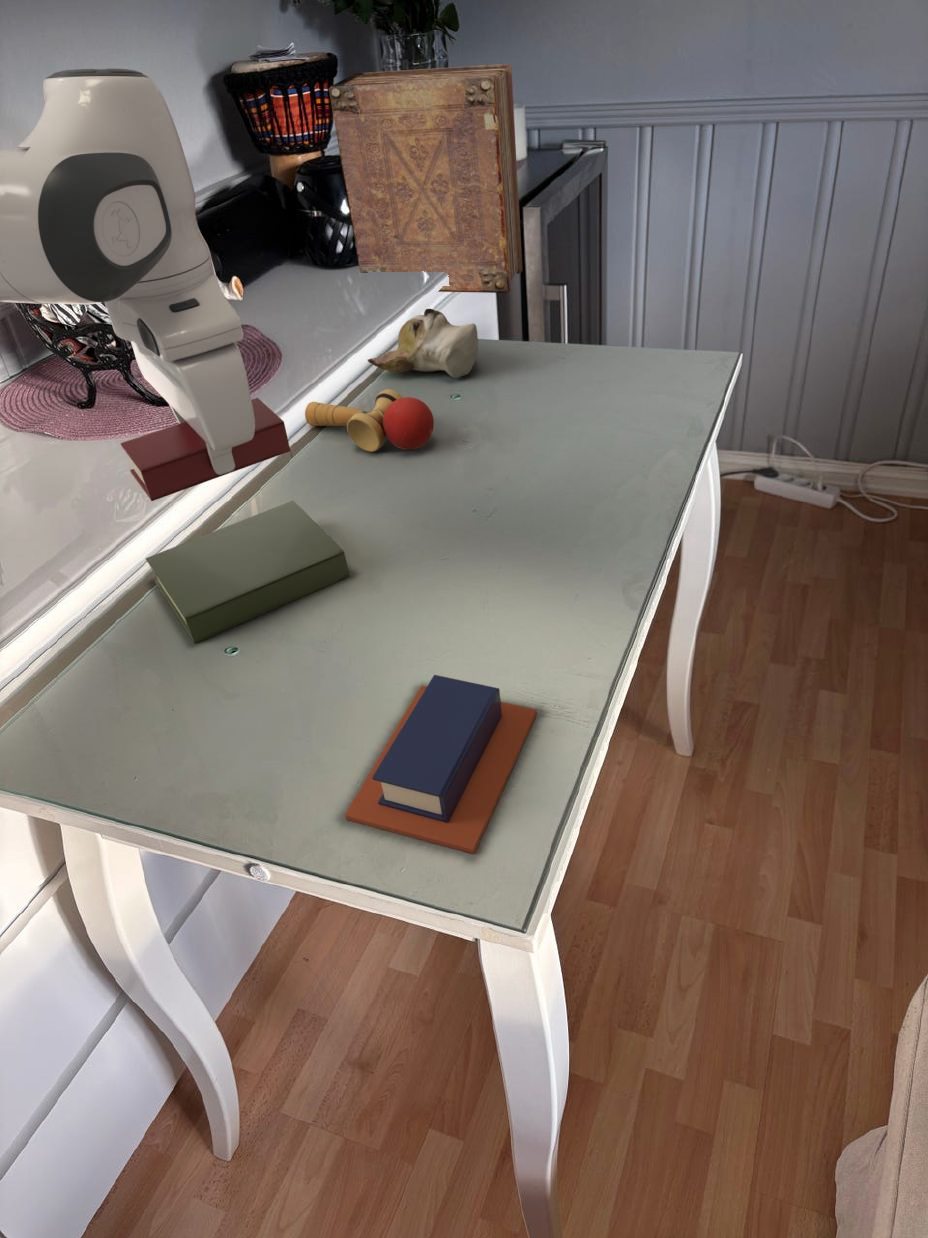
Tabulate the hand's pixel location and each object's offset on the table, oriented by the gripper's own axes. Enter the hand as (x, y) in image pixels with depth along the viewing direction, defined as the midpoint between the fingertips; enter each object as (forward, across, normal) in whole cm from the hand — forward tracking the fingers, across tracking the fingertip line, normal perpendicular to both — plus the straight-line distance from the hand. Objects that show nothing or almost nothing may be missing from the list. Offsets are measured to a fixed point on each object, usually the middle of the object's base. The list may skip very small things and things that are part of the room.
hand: (209, 455), depth 81 cm
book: (+14, -58, +59) cm, 84 cm away
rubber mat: (+14, +32, +3) cm, 35 cm away
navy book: (+14, +32, +3) cm, 35 cm away
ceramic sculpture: (+14, -29, +39) cm, 51 cm away
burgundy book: (+1, 0, 0) cm, 1 cm away
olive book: (+14, 0, 0) cm, 14 cm away
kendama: (+14, -18, +24) cm, 33 cm away
